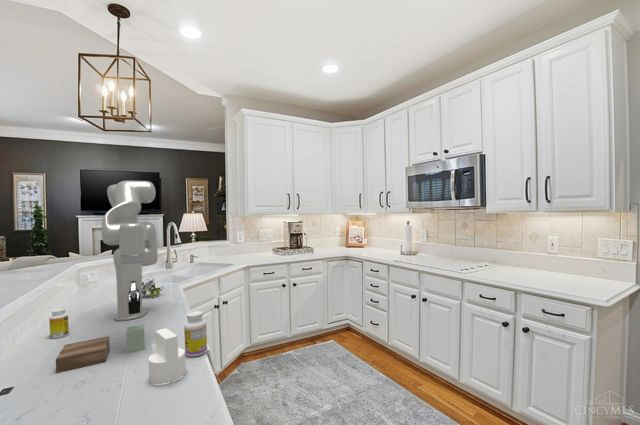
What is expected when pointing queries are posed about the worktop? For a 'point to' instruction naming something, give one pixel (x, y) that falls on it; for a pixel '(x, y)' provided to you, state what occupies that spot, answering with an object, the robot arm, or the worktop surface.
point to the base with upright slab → (166, 358)
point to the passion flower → (148, 287)
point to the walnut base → (83, 354)
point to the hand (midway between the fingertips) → (134, 309)
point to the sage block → (135, 338)
